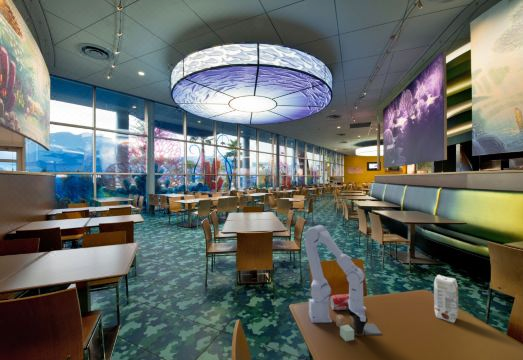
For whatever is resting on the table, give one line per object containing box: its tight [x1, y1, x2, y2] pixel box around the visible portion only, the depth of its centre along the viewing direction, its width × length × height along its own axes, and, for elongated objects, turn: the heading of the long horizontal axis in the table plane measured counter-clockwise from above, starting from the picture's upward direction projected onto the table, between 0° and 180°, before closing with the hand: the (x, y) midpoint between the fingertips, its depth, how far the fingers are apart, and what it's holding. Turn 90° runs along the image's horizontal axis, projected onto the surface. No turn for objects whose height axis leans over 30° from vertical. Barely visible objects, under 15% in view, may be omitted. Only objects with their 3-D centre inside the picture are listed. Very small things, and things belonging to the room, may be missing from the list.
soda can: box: [329, 293, 349, 311], centre depth 123 cm, size 7×7×13 cm
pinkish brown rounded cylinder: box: [335, 313, 345, 329], centre depth 108 cm, size 4×4×4 cm
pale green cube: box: [339, 324, 355, 342], centre depth 100 cm, size 4×4×4 cm
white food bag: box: [433, 274, 459, 324], centre depth 114 cm, size 8×9×19 cm
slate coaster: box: [364, 323, 383, 336], centre depth 105 cm, size 7×7×1 cm
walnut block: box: [348, 315, 365, 336], centre depth 104 cm, size 4×4×6 cm
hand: (356, 328), depth 104 cm, fingers open, 6 cm apart
